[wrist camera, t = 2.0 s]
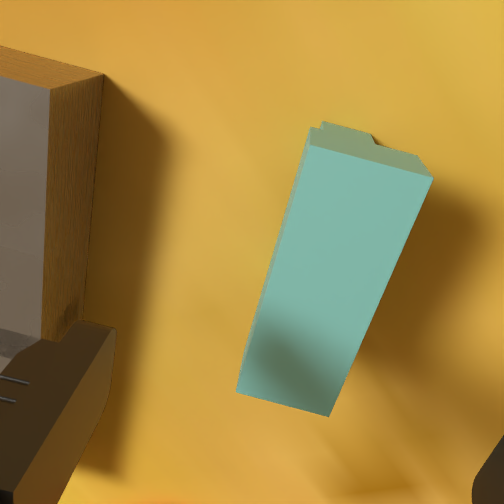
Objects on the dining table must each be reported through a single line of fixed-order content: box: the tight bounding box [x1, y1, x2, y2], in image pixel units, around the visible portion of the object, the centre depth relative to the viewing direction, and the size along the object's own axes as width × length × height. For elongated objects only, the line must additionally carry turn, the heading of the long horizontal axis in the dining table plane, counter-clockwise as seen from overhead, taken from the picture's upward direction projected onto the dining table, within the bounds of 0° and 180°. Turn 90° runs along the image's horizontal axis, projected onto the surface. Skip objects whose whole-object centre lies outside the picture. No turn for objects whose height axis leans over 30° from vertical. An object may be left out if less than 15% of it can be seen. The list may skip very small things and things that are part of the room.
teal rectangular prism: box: [236, 121, 434, 417], centre depth 16 cm, size 8×3×6 cm, turn 167°
